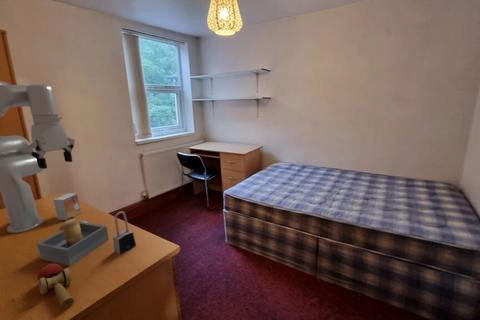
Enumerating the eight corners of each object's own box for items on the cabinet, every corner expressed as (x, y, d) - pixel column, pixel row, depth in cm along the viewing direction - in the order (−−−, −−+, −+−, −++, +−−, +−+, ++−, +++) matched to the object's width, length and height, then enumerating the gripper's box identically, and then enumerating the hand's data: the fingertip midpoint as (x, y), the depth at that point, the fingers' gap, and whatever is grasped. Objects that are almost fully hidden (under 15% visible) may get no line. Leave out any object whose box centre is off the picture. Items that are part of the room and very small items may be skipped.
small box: (67, 221, 111) (62, 200, 108) (57, 220, 112) (52, 199, 109) (81, 213, 118) (77, 193, 115) (72, 212, 119) (68, 192, 117)
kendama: (88, 299, 68) (65, 266, 78) (80, 285, 65) (57, 253, 75) (57, 322, 62) (36, 284, 72) (47, 308, 59) (27, 270, 70)
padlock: (119, 255, 85) (113, 217, 81) (113, 251, 87) (107, 214, 83) (137, 245, 90) (131, 209, 86) (130, 242, 92) (125, 207, 89)
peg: (65, 251, 87) (58, 224, 85) (77, 243, 92) (71, 218, 90) (76, 253, 86) (69, 226, 84) (87, 245, 91) (81, 219, 88)
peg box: (41, 258, 84) (37, 244, 82) (82, 234, 99) (79, 221, 97) (70, 266, 80) (66, 250, 78) (108, 239, 94) (106, 226, 93)
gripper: (62, 118, 96) (70, 159, 100) (11, 122, 80) (24, 170, 84) (76, 118, 94) (84, 159, 98) (27, 122, 78) (39, 172, 82)
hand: (56, 164), depth 91 cm, fingers open, 9 cm apart
